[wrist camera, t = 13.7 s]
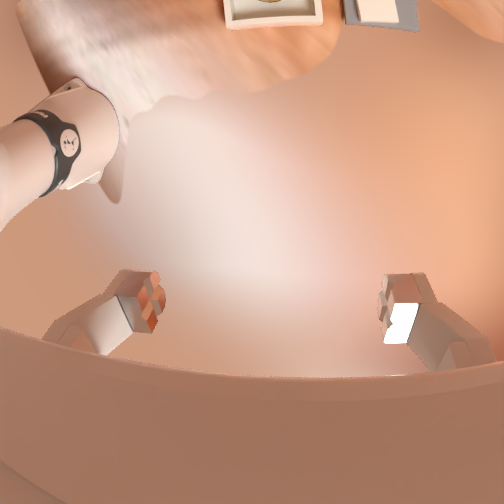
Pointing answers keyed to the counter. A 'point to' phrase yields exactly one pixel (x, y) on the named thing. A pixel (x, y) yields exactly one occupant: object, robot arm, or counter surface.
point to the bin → (272, 13)
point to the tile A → (377, 11)
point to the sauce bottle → (270, 1)
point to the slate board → (406, 17)
